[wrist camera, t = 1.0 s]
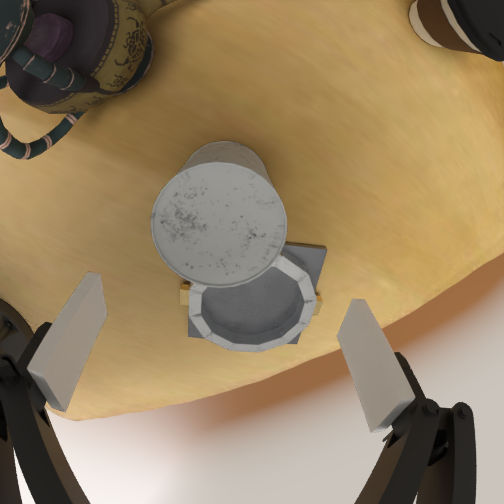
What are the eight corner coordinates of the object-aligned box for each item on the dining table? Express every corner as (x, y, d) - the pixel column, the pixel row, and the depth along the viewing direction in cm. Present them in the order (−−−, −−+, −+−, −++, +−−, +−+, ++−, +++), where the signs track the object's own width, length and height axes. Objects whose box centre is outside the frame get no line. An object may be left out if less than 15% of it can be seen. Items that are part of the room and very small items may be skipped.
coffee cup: (457, 75, 24) (524, 80, 14) (389, 43, 23) (455, 27, 13) (457, 10, 19) (518, 0, 9) (391, -25, 18) (446, -56, 7)
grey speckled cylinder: (231, 122, 28) (228, 131, 17) (285, 191, 31) (313, 240, 21) (162, 179, 30) (124, 222, 19) (218, 240, 34) (211, 307, 23)
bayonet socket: (182, 332, 40) (179, 346, 38) (184, 231, 33) (179, 242, 30) (302, 340, 42) (306, 354, 40) (332, 247, 35) (340, 259, 32)
